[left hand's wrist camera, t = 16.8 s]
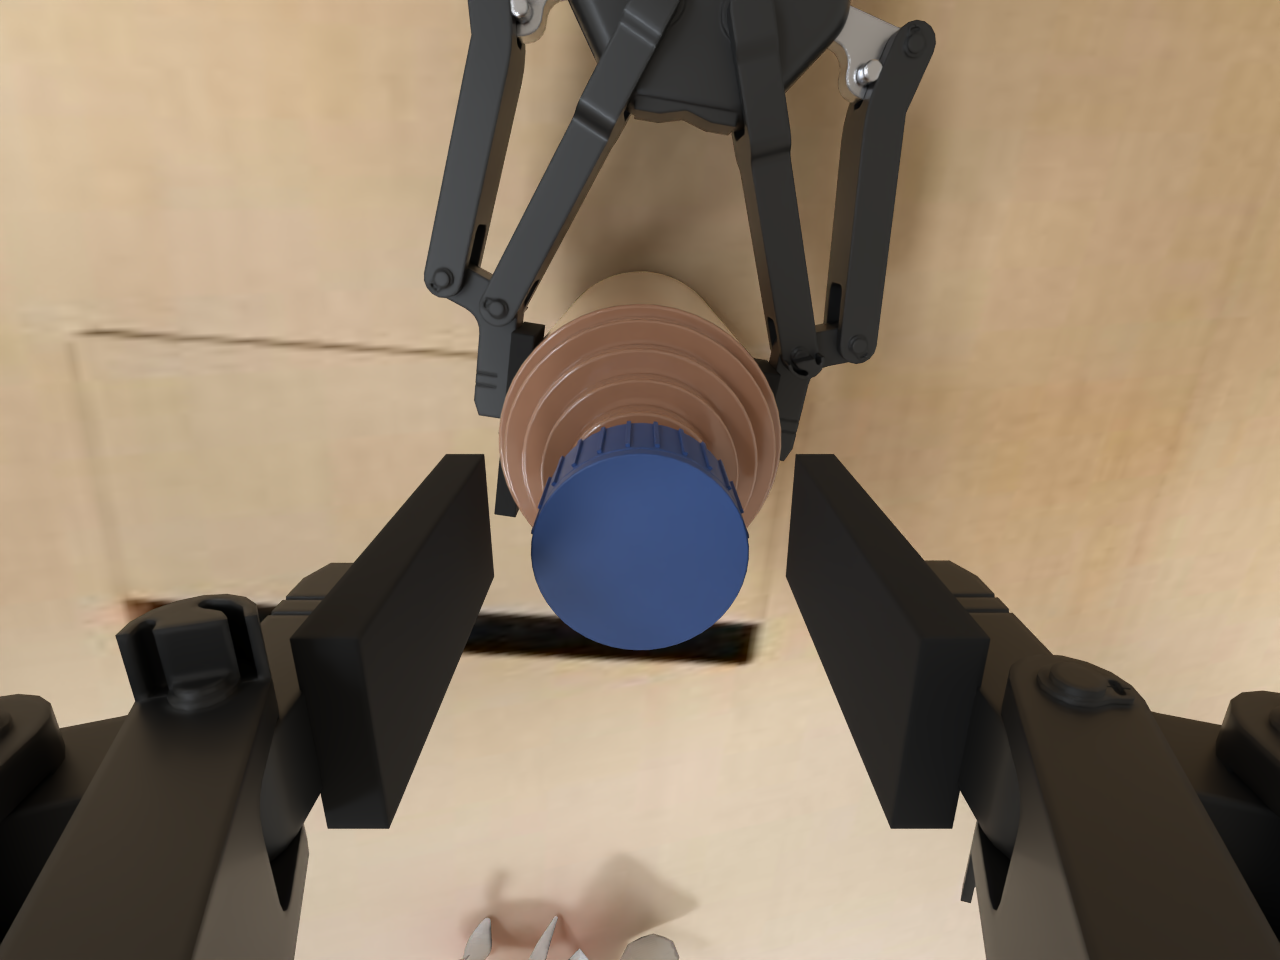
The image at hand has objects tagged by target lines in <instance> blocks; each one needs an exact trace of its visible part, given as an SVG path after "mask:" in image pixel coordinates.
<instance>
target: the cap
mask: <svg viewBox="0 0 1280 960" xmlns="http://www.w3.org/2000/svg"><path fill="white" fill-rule="evenodd" d="M538 509H539V511H538V514H537V516H536V519H535V522H534V525H533V528H532V531H531V534H533V536H532V541H531V559H532V568H533V572H534V576H535V580H536V582H537V584H538V587H539V589H540V592H541V593H542V595H543V597H544V599H545V600H546V602H547V603H548V605H549V606H550V607H551V609H552V610H553V611H554V612H555V614H556V615H557V616H558V617H559V618H560V619H561V620H562V621H563V622H564V623H566V624H567V625H568V626H570V627H571V628H572V629H574V630H575V631H577V632H578V633H580V634H582V635H583V636H585V637H587V638H589V639H591V640H594V641H596V642H598V643H601V644H605V645H608V646H611V647H616V648H622V649H631V650H651V649H658V648H664V647H668V646H672V645H676V644H679V643H681V642H684V641H686V640H689V639H691V638H693V637H695V636H696V635H698V634H700V633H702V632H703V631H705V630H706V629H708V628H709V627H710V626H712V625H713V624H714V623H715V622H716V621H717V620H718V619H720V618H721V617H722V616H723V614H724V613H725V612H726V611H727V610H728V609H729V607H730V606H731V605H732V603H733V601H734V600H735V598H736V597H737V595H738V593H739V591H740V589H741V587H742V585H743V582H744V578H745V575H746V572H747V566H748V560H749V544H748V538H749V534H748V531H747V528H746V526H745V523H744V520H743V517H742V513H744V511H743V508H742V505H741V502H740V500H739V497H738V494H737V491H736V489H735V486H734V483H733V481H729V479H728V476H727V473H726V470H725V467H724V465H723V462H722V460H721V459H720V460H717V459H716V458H715V456H714V455H713V454H712V453H711V452H710V451H709V450H708V449H707V447H706V444H705V443H704V442H703V441H702V442H701V443H700V442H698V441H697V440H695V439H694V438H692V437H691V436H689V435H687V434H685V433H684V431H683V429H680V428H679V430H676V429H673V428H670V427H667V426H662V425H658V422H655V421H654V422H653V424H650V423H631V421H627V424H623V425H617V426H613V427H610V428H607V429H606V428H605V427H602V428H601V430H600V431H599V432H597V433H595V434H593V435H591V436H589V437H588V438H586V439H584V440H582V439H580V440H578V443H577V445H576V446H575V447H574V448H573V449H572V450H571V451H570V452H569V453H568V454H567V455H566V456H565V457H564V456H561V458H560V460H559V463H558V465H557V468H556V470H555V472H554V474H553V476H552V477H549V478H548V480H547V483H546V486H545V488H544V491H543V494H542V497H541V499H540V502H539V505H538Z"/></svg>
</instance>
